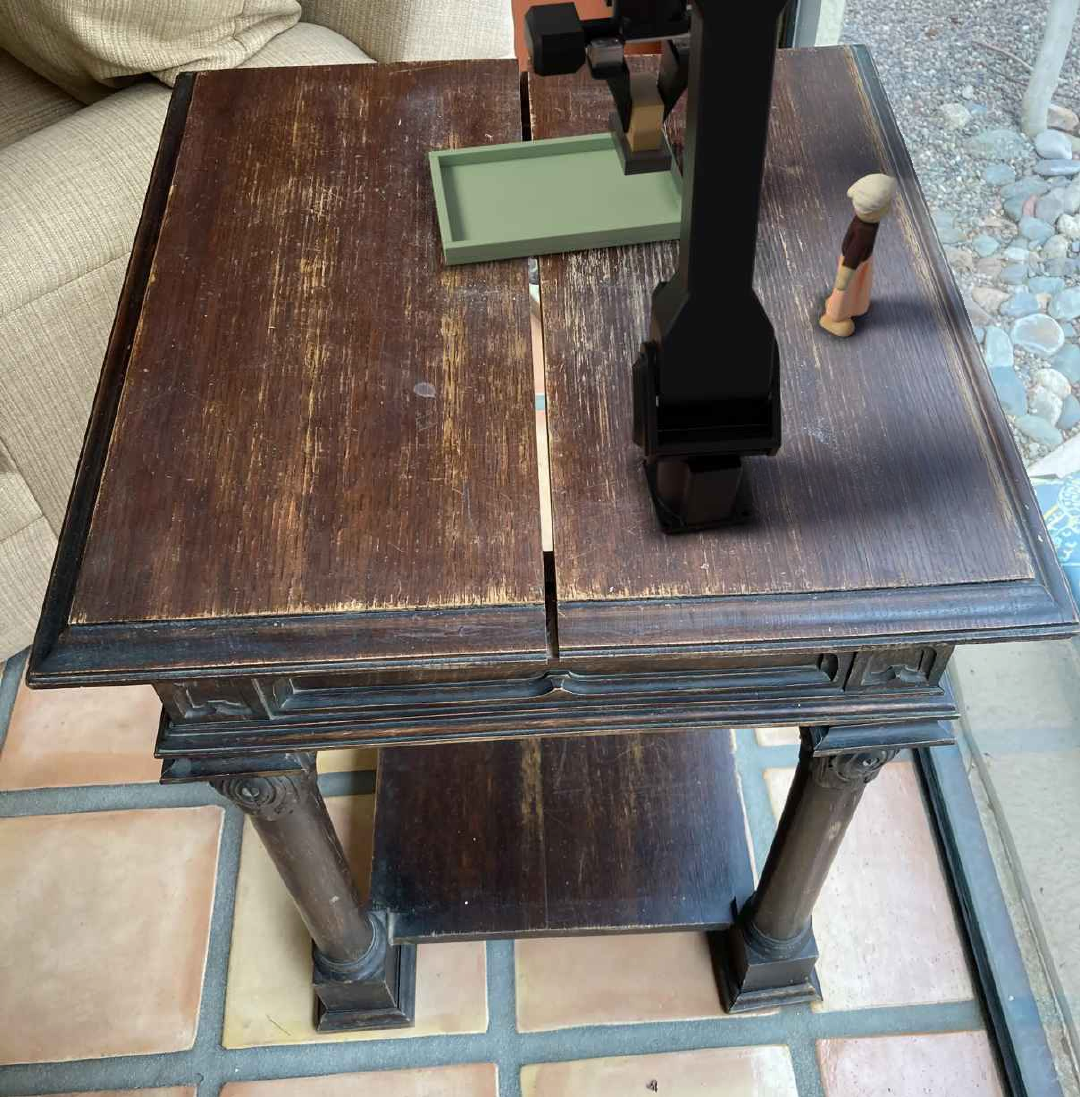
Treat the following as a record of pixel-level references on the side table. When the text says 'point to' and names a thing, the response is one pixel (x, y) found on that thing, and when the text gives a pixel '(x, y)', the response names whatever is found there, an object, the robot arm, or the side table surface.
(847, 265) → the grandmother figurine
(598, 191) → the tray
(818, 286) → the side table surface
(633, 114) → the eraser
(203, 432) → the side table surface
